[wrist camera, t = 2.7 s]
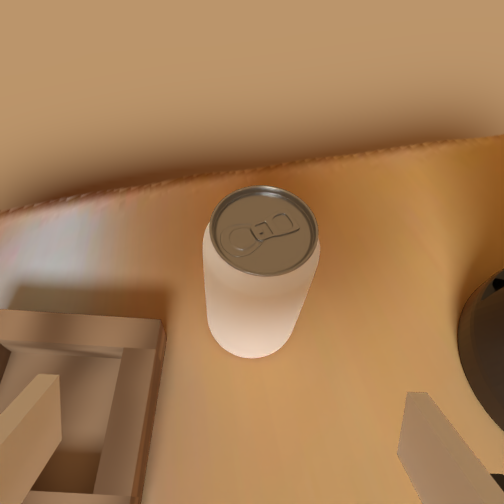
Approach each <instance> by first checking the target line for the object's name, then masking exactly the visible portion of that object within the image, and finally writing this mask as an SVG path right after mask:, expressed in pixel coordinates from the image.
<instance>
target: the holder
mask: <svg viewBox="0 0 504 504" xmlns="http://www.w3.org/2000/svg"><path fill="white" fill-rule="evenodd" d="M166 340H167V337H166V334H165V331H164V328H163V325H162V322H161V320H158V319H143V318H128V317H113V316H98V315H83V314H67V313H52V312H37V311H22V310H7V309H0V414H1V413H2V412H3V411H4V410H5V409H6V408H7V407H8V406H9V405H10V404H11V403H12V402H13V400H14V399H15V398H16V397H17V396H18V395H19V394H20V393H21V392H22V391H23V390H24V389H25V388H26V386H27V385H28V384H29V383H30V382H31V381H32V380H33V379H34V378H35V377H36V376H37V375H38V374H53V375H59V381H60V407H61V433H62V440H61V442H60V443H59V445H58V446H57V448H56V450H55V451H54V453H53V454H52V456H51V457H50V459H49V461H48V462H47V464H46V465H45V467H44V469H43V470H42V472H41V473H40V475H39V476H38V478H37V480H36V481H35V483H34V484H33V486H32V488H31V489H30V491H29V492H28V494H27V495H26V497H25V499H24V500H23V502H22V503H21V504H141V498H142V492H143V486H144V479H145V473H146V467H147V460H148V454H149V448H150V441H151V435H152V429H153V422H154V416H155V410H156V403H157V397H158V391H159V384H160V378H161V372H162V365H163V359H164V353H165V346H166Z"/></svg>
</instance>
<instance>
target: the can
mask: <svg viewBox="0 0 504 504" xmlns="http://www.w3.org/2000/svg"><path fill="white" fill-rule="evenodd" d="M318 235H319V232H318V224H317V221H316V218H315V216H314V214H313V212H312V211H311V209H310V208H309V207H308V205H307V204H306V203H305V202H304V201H303V200H301V199H300V198H299V197H297V196H296V195H294V194H293V193H291V192H289V191H287V190H284V189H281V188H278V187H273V186H266V185H256V186H249V187H244V188H241V189H238V190H236V191H234V192H232V193H230V194H229V195H227V196H226V197H225V198H223V199H222V200H221V201H220V202H219V203H218V205H217V206H216V208H215V209H214V211H213V213H212V216H211V219H210V222H209V224H208V225H207V228H206V230H205V233H204V237H203V268H204V282H205V295H206V308H207V319H208V325H209V328H210V331H211V333H212V335H213V336H214V338H215V339H216V341H217V342H218V343H219V344H220V345H221V346H222V347H223V348H224V349H225V350H227V351H228V352H230V353H232V354H234V355H236V356H240V357H244V358H260V357H264V356H267V355H270V354H272V353H274V352H276V351H277V350H278V349H280V348H281V347H282V346H283V345H284V344H285V343H286V341H287V340H288V338H289V337H290V335H291V333H292V331H293V328H294V326H295V323H296V321H297V318H298V316H299V313H300V311H301V308H302V306H303V303H304V301H305V298H306V295H307V293H308V290H309V288H310V285H311V282H312V280H313V277H314V274H315V272H316V269H317V266H318V262H319V257H320V242H319V237H318Z"/></svg>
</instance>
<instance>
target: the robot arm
mask: <svg viewBox="0 0 504 504" xmlns="http://www.w3.org/2000/svg"><path fill="white" fill-rule="evenodd" d="M458 345H459V352H460V357H461V361H462V365H463V368H464V371H465V374H466V376H467V379H468V381H469V383H470V385H471V388H472V389H473V391H474V393H475V395H476V397H477V398H478V400H479V401H480V403H481V405H482V406H483V407H484V409H485V410H486V412H487V413H488V414H489V415H490V417H491V418H492V419H493V420H494V421H495V423H496V424H497V425H498V426H499V427H500V428H501V429H502V430H503V431H504V269H503V270H501V271H499V272H497V273H496V274H494V275H493V276H492V277H491V278H489V279H488V280H487V281H486V282H485V283H484V284H482V285H481V286H480V287H479V288H478V289H477V290H476V291H475V292H474V293H473V294H472V295H471V296H470V298H469V299H468V301H467V302H466V304H465V306H464V308H463V311H462V314H461V317H460V321H459V328H458ZM61 440H62V433H61V407H60V381H59V375H53V374H38V375H37V376H36V377H35V378H34V379H33V380H32V381H31V382H30V383H29V384H28V385H27V386H26V388H25V389H24V390H23V391H22V392H21V393H20V394H19V395H18V396H17V397H16V398H15V399H14V400H13V402H12V403H11V404H10V405H9V406H8V407H7V408H6V409H5V410H4V411H3V412H2V413H1V414H0V504H21V503H22V502H23V500H24V499H25V497H26V495H27V494H28V492H29V491H30V489H31V488H32V486H33V484H34V483H35V481H36V480H37V478H38V476H39V475H40V473H41V472H42V470H43V469H44V467H45V465H46V464H47V462H48V461H49V459H50V457H51V456H52V454H53V453H54V451H55V450H56V448H57V446H58V445H59V443H60V442H61ZM397 455H398V457H399V459H400V461H401V463H402V465H403V467H404V469H405V471H406V473H407V474H408V476H409V478H410V480H411V482H412V484H413V486H414V488H415V490H416V492H417V494H418V496H419V498H420V500H421V502H422V504H504V475H503V474H489V472H488V471H487V470H486V468H485V467H484V466H483V465H482V463H481V462H480V461H479V459H478V458H477V457H476V455H475V454H474V453H473V452H472V450H471V449H470V448H469V446H468V445H467V444H466V443H465V441H464V440H463V439H462V437H461V436H460V435H459V433H458V432H457V431H456V430H455V428H454V427H453V426H452V424H451V423H450V422H449V420H448V419H447V418H446V417H445V415H444V414H443V413H442V411H441V410H440V409H439V408H438V406H437V405H436V404H435V402H434V401H433V400H432V398H431V397H430V396H429V395H428V393H424V392H407V397H406V403H405V409H404V415H403V421H402V427H401V433H400V439H399V445H398V451H397Z"/></svg>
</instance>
